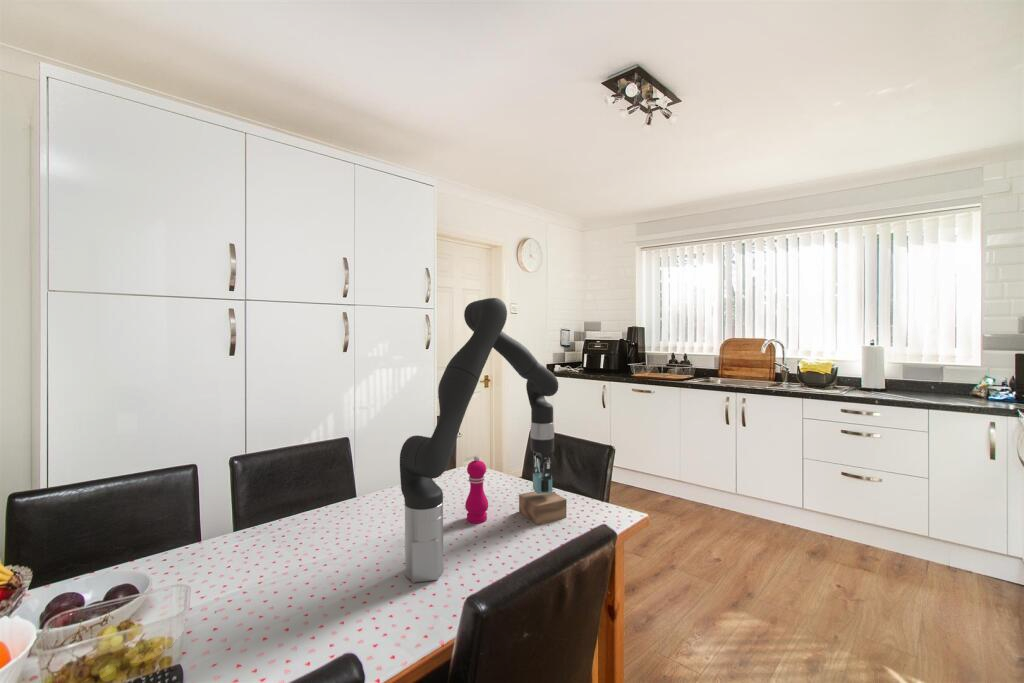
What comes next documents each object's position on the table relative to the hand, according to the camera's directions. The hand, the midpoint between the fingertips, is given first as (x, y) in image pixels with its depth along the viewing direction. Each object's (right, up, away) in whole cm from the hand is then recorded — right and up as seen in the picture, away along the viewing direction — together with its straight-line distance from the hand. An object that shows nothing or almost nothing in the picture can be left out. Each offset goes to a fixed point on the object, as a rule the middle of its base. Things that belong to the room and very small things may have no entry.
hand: (542, 488), depth 148 cm
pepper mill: (-21, -9, -3) cm, 23 cm away
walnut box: (0, -9, 0) cm, 9 cm away
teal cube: (0, -1, 0) cm, 1 cm away
